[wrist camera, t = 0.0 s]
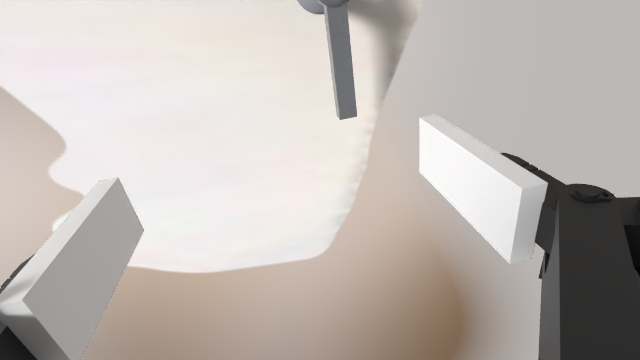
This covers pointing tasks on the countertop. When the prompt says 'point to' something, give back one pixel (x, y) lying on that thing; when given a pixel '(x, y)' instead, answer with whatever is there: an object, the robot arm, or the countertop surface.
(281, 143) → the countertop surface
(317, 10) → the socket block
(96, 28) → the countertop surface
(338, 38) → the grey lever handle
